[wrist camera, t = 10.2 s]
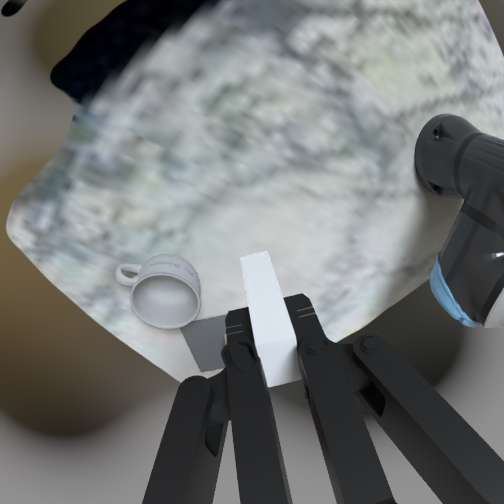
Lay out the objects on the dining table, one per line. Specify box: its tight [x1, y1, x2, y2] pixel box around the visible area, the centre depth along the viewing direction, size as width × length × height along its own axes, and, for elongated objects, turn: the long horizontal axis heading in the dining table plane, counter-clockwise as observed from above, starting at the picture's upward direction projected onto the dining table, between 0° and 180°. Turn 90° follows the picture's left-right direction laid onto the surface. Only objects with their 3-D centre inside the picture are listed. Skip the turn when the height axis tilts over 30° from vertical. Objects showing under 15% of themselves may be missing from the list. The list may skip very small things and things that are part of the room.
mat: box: [180, 314, 227, 372], centre depth 60 cm, size 22×14×1 cm, turn 101°
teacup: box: [115, 255, 201, 329], centre depth 48 cm, size 14×11×8 cm
